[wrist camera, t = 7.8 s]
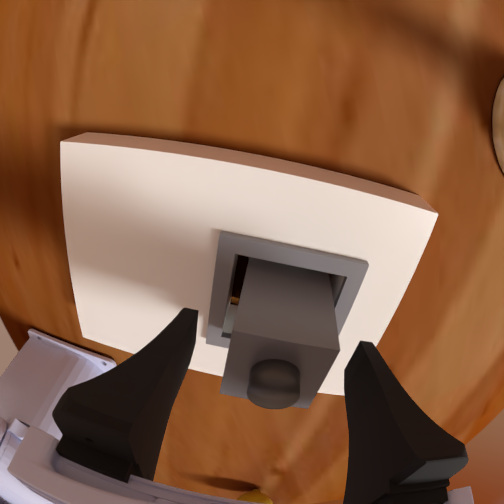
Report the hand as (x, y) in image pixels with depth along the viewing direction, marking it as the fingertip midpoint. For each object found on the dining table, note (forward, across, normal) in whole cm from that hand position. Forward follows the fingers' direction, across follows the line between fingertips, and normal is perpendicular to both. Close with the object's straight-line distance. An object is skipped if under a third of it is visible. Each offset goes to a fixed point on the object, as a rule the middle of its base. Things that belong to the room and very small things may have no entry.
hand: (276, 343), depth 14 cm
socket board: (+5, +3, 0) cm, 6 cm away
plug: (+5, 0, 0) cm, 5 cm away
